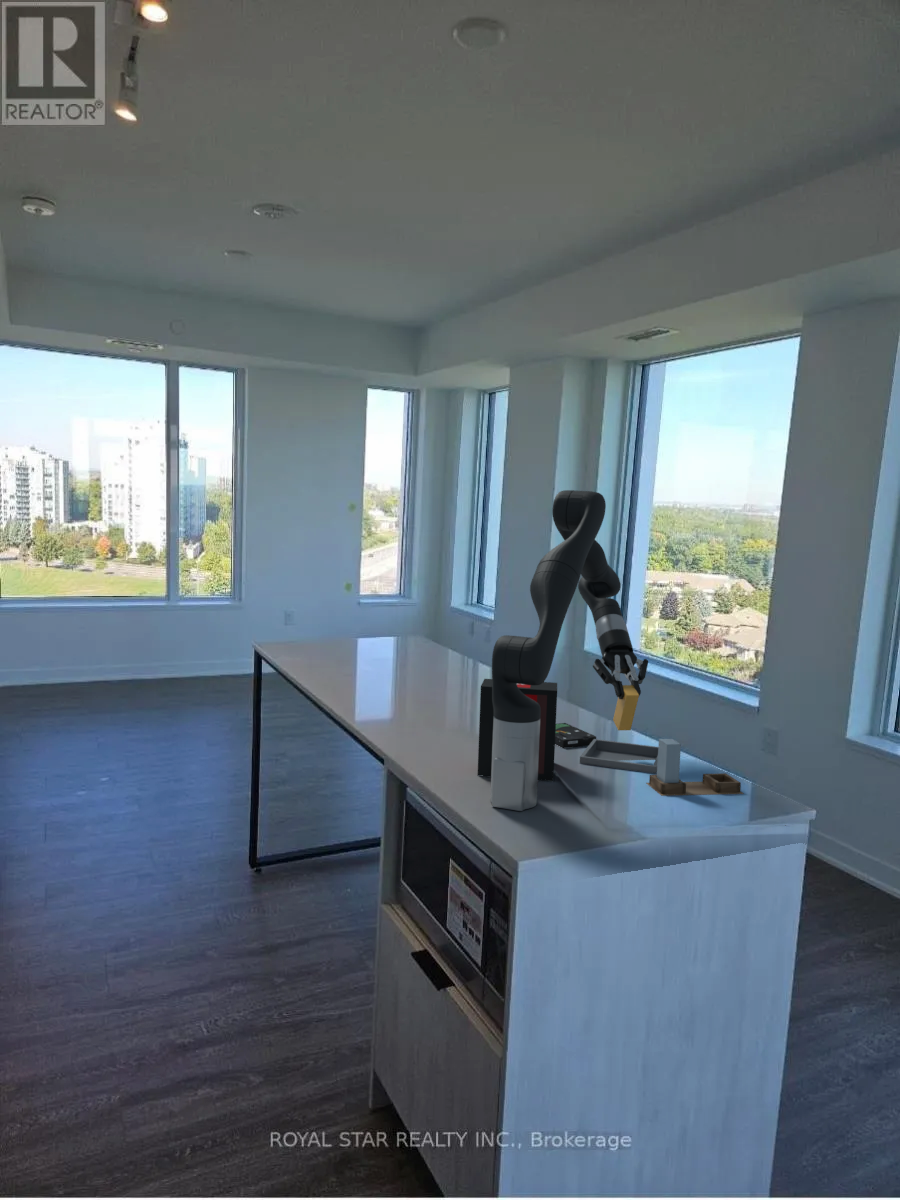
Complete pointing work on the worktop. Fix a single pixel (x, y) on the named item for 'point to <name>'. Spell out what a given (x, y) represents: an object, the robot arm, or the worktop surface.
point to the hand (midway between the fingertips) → (629, 697)
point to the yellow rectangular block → (626, 708)
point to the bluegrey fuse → (668, 761)
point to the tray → (620, 755)
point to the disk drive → (571, 736)
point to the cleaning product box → (548, 704)
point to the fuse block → (698, 786)
